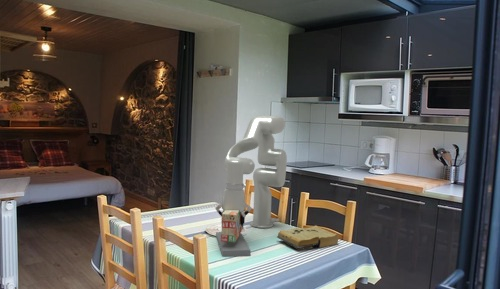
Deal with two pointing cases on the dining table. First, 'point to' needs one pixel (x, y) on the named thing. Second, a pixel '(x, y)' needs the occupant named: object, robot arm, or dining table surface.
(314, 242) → the book
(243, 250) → the grey plinth
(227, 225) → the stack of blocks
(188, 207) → the dining table surface
